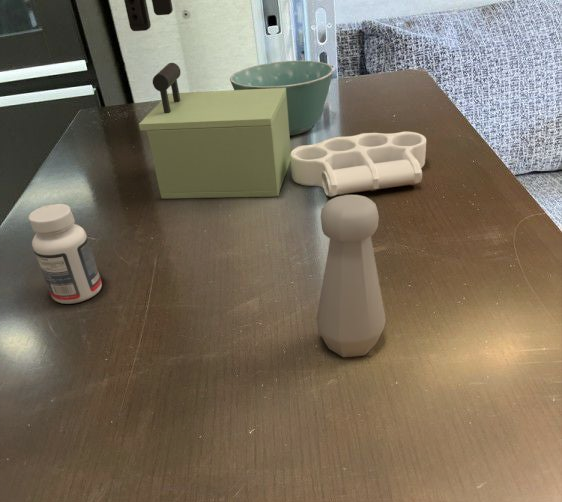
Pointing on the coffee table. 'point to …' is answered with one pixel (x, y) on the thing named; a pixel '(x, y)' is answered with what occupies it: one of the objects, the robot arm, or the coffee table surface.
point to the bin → (222, 159)
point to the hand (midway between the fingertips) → (153, 22)
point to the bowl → (292, 88)
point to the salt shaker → (350, 278)
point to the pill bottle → (64, 254)
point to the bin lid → (209, 106)
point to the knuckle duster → (360, 162)
